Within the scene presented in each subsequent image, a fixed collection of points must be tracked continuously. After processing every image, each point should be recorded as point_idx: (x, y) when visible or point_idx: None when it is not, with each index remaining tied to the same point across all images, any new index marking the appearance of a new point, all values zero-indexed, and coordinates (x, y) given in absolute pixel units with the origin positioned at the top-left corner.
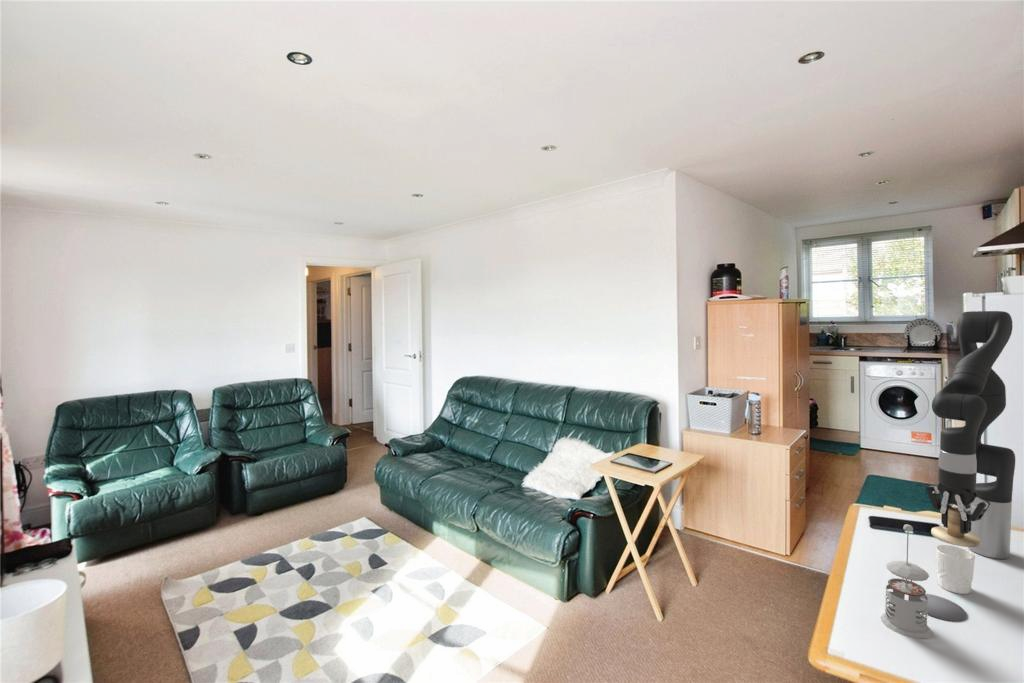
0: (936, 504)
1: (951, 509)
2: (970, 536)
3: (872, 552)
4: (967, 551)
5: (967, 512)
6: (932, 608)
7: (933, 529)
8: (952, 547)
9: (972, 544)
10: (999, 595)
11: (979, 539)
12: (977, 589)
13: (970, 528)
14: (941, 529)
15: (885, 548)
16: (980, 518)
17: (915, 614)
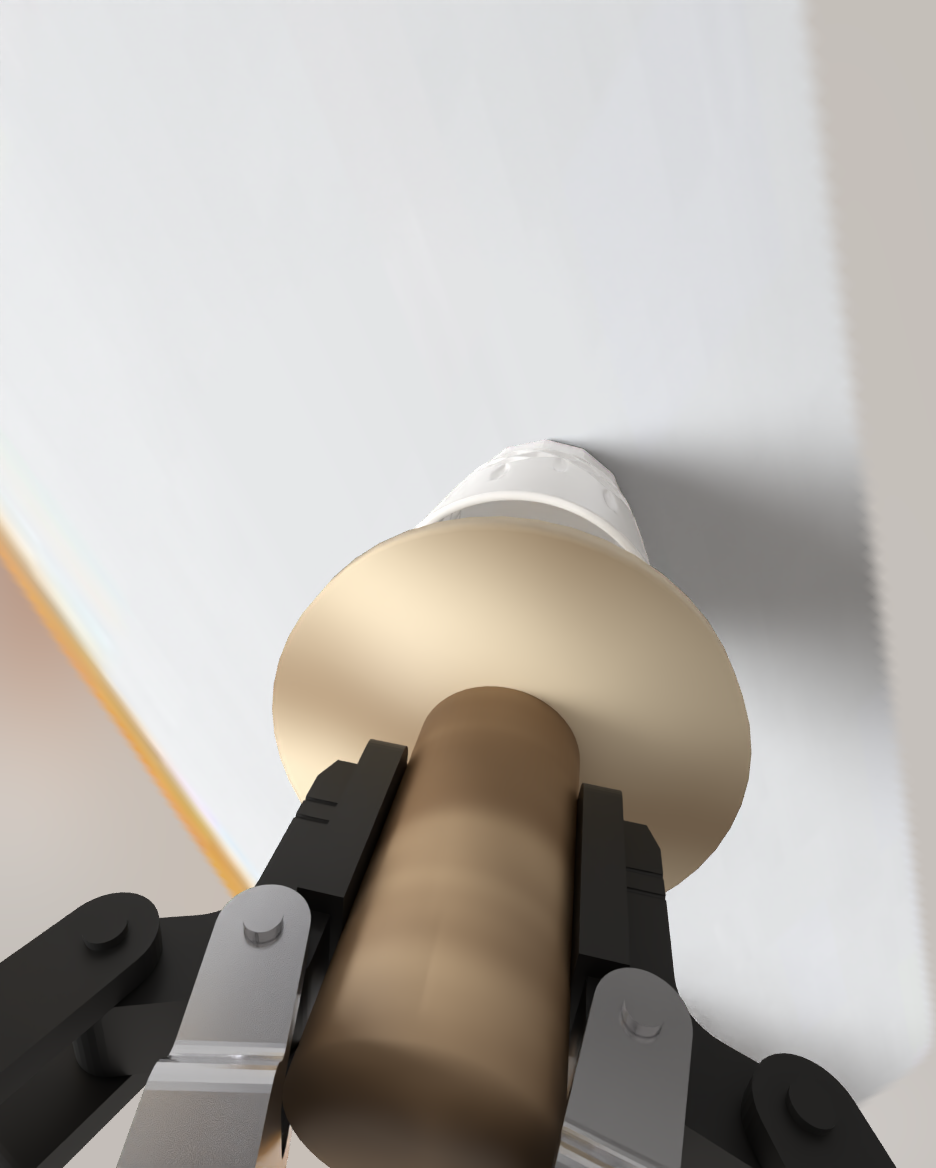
0: (108, 1110)
1: (364, 1159)
2: (620, 682)
3: (74, 462)
4: (573, 512)
5: (609, 1137)
6: None
7: (302, 773)
8: (451, 510)
9: (701, 863)
10: (758, 384)
11: (721, 692)
12: (640, 422)
13: (657, 885)
14: (343, 720)
15: (52, 316)
16: (857, 1142)
17: None
